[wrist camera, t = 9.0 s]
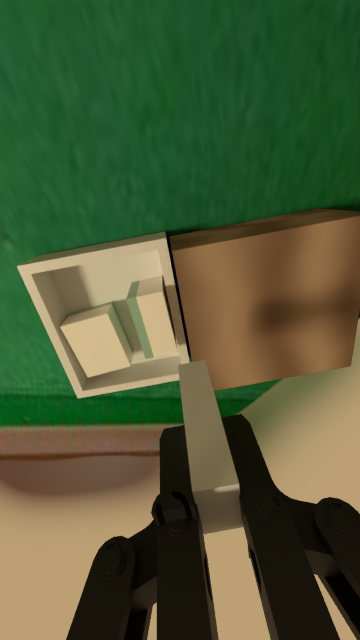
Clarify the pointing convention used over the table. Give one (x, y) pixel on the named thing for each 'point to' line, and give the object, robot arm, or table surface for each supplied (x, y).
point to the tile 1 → (98, 339)
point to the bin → (98, 288)
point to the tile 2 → (152, 317)
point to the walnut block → (271, 295)
